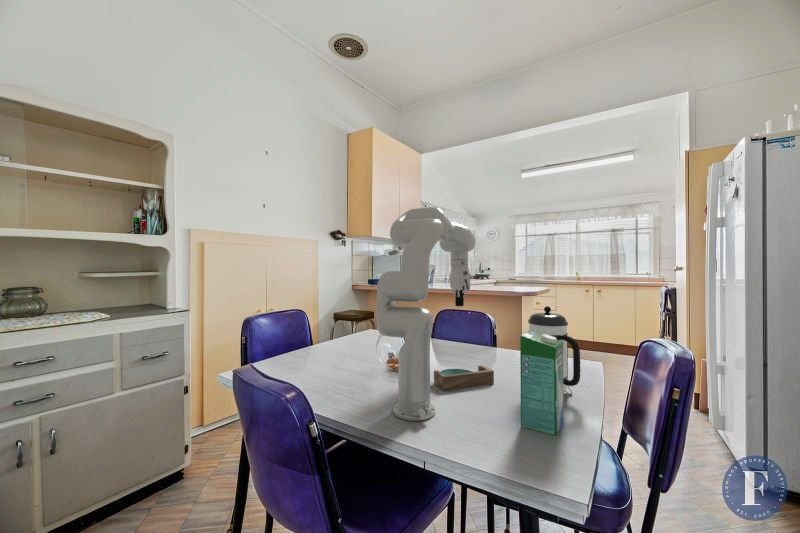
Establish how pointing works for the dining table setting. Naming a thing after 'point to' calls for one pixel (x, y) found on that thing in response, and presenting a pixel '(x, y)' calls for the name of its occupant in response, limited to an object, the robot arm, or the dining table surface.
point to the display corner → (464, 379)
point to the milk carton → (541, 382)
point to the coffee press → (558, 329)
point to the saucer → (454, 371)
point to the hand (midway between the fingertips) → (459, 306)
